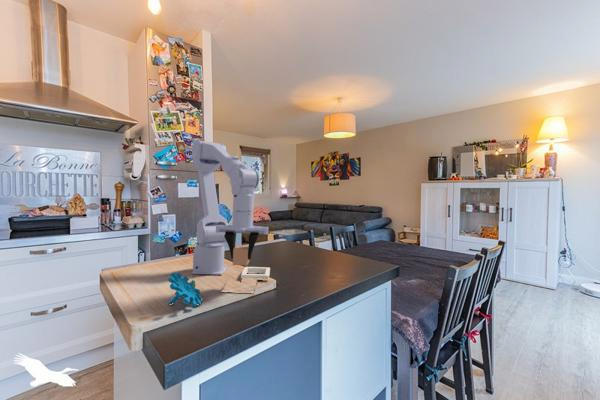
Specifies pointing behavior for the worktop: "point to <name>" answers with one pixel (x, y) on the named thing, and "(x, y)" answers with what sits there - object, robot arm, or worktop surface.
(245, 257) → the light brown wooden cube
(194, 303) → the teal spiky cog
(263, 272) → the socket
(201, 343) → the worktop surface
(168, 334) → the worktop surface
